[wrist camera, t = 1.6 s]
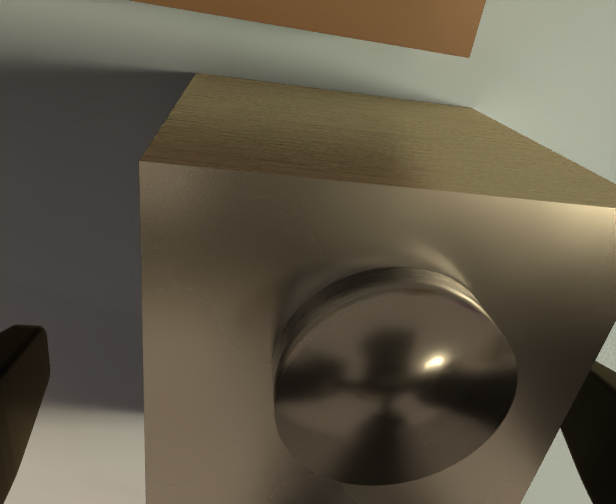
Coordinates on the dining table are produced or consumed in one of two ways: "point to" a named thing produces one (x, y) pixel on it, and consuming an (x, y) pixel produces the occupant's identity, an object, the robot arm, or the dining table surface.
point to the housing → (361, 298)
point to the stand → (360, 19)
